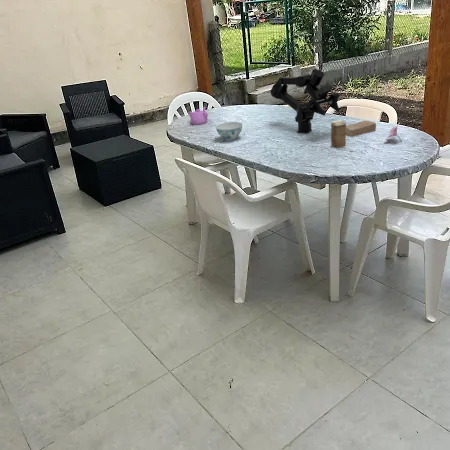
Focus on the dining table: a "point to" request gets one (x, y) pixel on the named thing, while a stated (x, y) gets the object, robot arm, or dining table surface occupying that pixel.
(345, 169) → the dining table surface
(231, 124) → the chinaware
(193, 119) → the teapot
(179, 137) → the dining table surface
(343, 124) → the walnut block
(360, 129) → the brick
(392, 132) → the lily
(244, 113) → the dining table surface
